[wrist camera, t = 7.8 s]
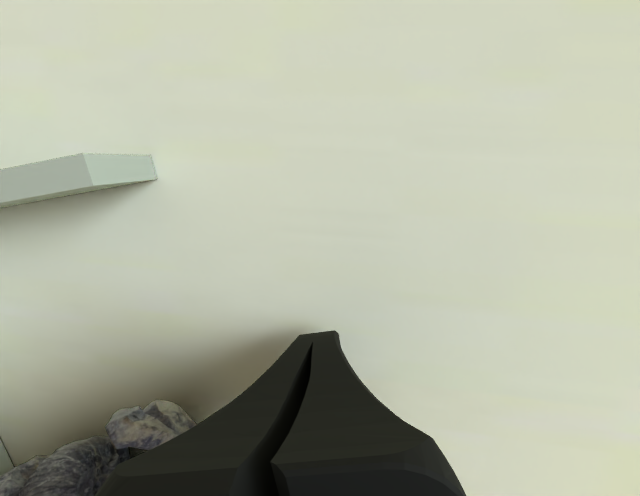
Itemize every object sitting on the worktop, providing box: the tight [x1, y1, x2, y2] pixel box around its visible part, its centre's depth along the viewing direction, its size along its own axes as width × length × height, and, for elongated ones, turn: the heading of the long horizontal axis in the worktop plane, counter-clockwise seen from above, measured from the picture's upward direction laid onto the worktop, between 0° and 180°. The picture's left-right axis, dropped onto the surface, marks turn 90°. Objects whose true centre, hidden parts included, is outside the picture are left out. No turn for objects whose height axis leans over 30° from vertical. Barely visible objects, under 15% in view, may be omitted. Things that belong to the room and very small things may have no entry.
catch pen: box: [0, 153, 157, 476], centre depth 12 cm, size 15×11×3 cm
